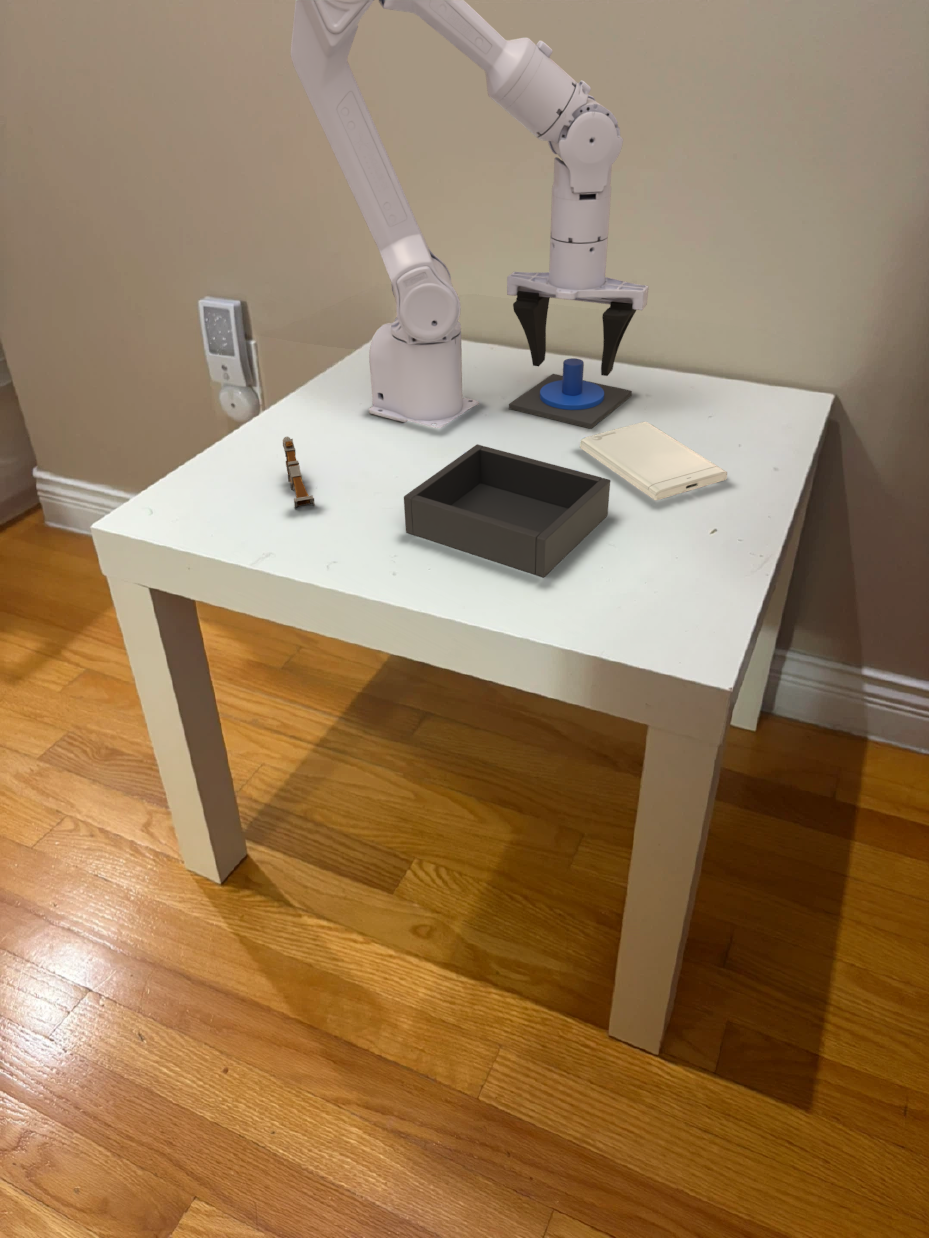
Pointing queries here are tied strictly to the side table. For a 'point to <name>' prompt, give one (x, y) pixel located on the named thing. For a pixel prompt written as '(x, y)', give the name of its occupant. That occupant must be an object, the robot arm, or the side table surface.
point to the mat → (582, 417)
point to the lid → (572, 389)
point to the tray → (508, 508)
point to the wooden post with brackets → (295, 474)
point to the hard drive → (652, 460)
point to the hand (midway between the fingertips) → (572, 367)
